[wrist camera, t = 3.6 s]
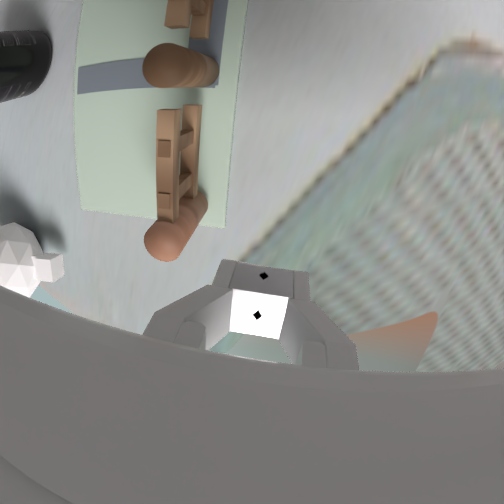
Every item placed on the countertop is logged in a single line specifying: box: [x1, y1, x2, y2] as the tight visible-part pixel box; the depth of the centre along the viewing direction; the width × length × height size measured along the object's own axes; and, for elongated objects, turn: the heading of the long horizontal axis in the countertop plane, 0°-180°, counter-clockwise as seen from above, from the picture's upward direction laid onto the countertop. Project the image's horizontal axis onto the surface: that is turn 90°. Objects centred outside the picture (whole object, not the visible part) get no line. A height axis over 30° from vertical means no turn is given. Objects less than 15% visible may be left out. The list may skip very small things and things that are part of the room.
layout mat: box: [74, 0, 248, 229], centre depth 17 cm, size 24×14×1 cm, turn 174°
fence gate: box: [144, 104, 208, 262], centre depth 18 cm, size 9×2×6 cm, turn 174°
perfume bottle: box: [0, 222, 64, 298], centre depth 24 cm, size 9×9×12 cm
